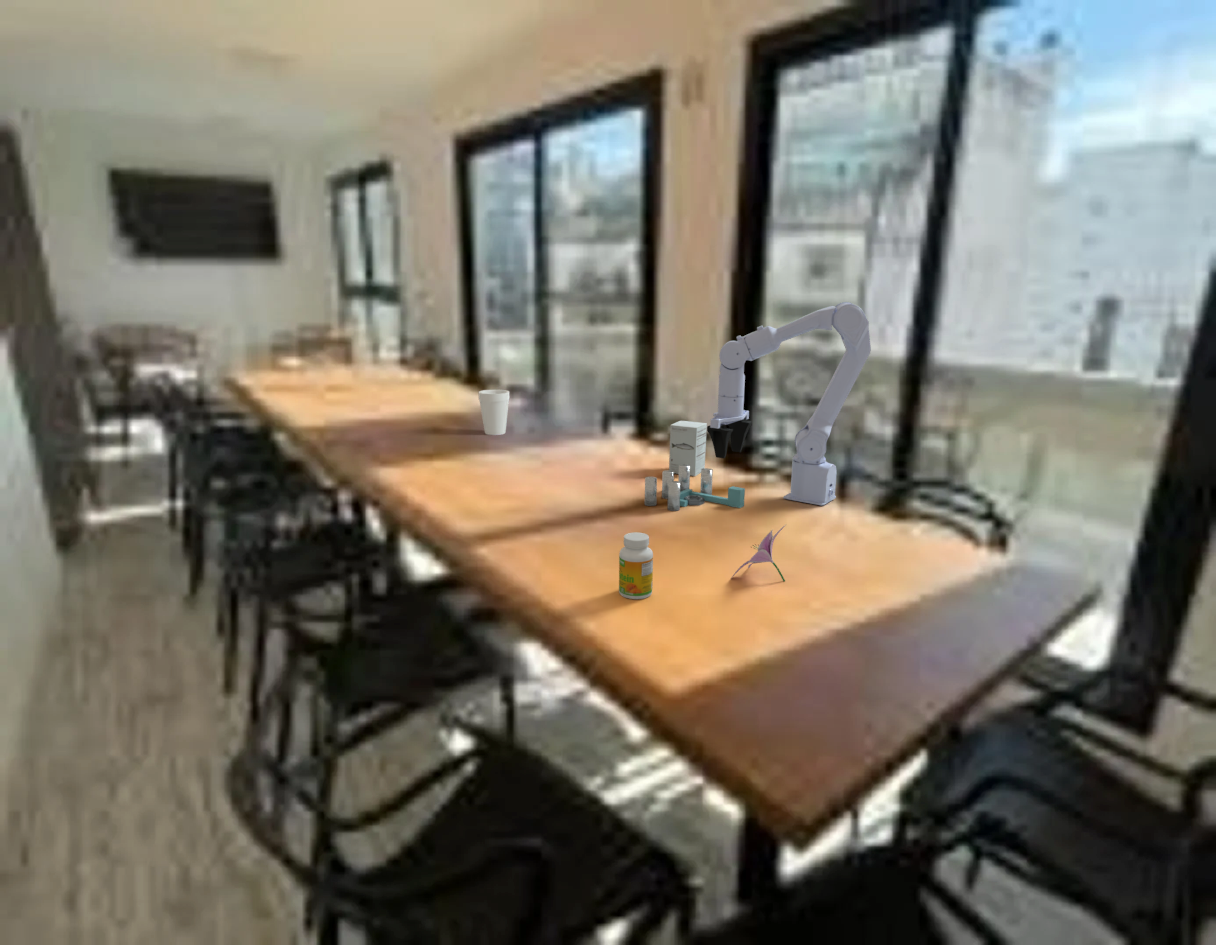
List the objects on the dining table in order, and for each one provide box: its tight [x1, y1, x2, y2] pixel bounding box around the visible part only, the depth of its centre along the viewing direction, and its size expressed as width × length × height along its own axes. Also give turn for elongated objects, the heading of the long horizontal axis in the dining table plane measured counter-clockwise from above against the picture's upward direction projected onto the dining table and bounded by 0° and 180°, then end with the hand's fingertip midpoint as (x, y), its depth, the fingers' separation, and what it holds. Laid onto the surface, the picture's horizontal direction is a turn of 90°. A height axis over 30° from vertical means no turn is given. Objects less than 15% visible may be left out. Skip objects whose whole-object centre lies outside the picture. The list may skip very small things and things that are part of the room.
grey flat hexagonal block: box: [684, 495, 706, 507], centre depth 178 cm, size 4×5×1 cm
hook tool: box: [680, 486, 746, 509], centre depth 176 cm, size 14×9×4 cm, turn 53°
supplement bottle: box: [618, 532, 654, 600], centre depth 128 cm, size 5×5×10 cm
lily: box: [731, 524, 786, 582], centre depth 135 cm, size 12×12×10 cm
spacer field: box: [644, 464, 714, 512], centre depth 180 cm, size 9×17×6 cm, turn 143°
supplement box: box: [668, 420, 708, 477], centre depth 203 cm, size 7×7×13 cm
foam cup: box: [478, 388, 511, 436], centre depth 249 cm, size 10×9×13 cm
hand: (728, 454), depth 182 cm, fingers open, 7 cm apart
